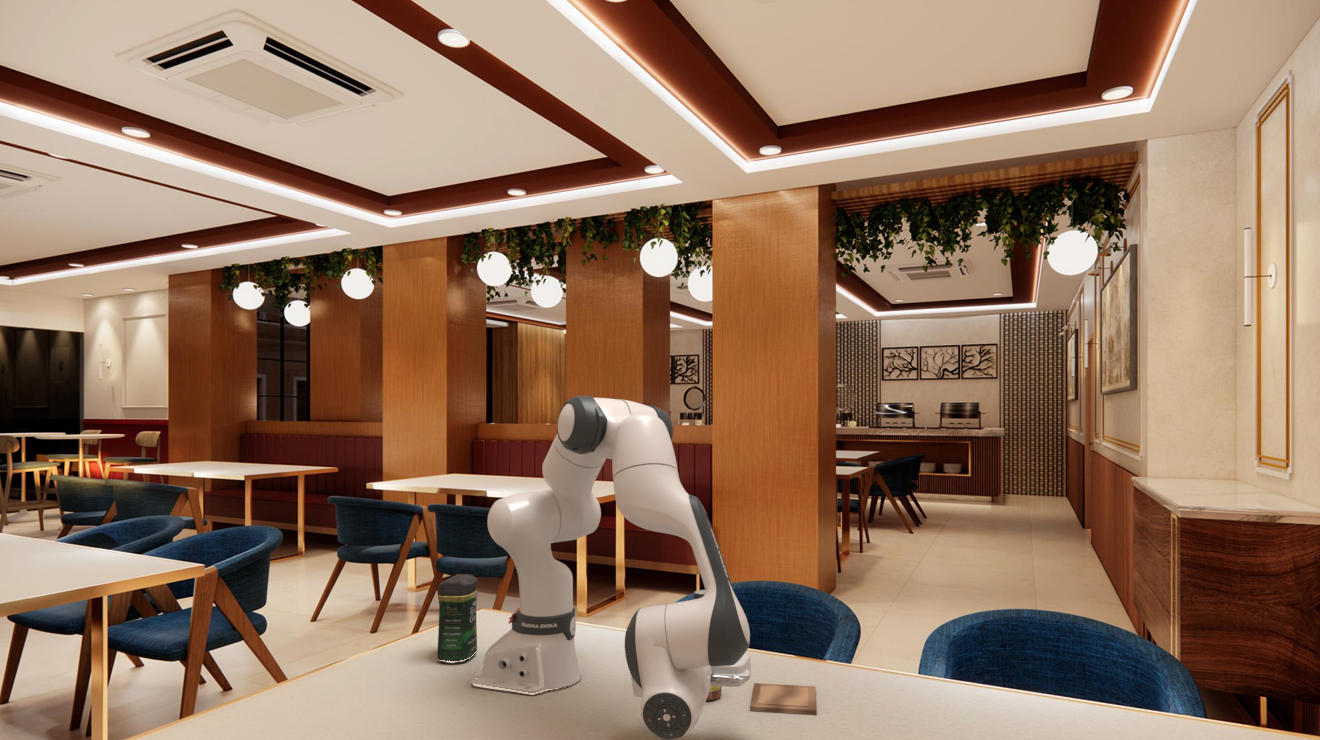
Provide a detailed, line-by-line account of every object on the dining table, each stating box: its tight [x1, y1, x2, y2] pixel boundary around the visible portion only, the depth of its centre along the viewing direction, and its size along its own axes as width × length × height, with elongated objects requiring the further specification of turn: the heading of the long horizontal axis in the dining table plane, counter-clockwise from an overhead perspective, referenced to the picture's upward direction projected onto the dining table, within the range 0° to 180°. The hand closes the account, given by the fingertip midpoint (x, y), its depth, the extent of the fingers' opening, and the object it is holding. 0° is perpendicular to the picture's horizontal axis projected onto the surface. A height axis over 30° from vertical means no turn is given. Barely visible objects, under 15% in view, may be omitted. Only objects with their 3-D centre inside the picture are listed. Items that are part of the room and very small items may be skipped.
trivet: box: [749, 682, 818, 716], centre depth 139 cm, size 12×12×1 cm
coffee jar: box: [436, 573, 478, 661], centre depth 168 cm, size 10×8×19 cm
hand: (696, 651), depth 131 cm, fingers open, 8 cm apart
